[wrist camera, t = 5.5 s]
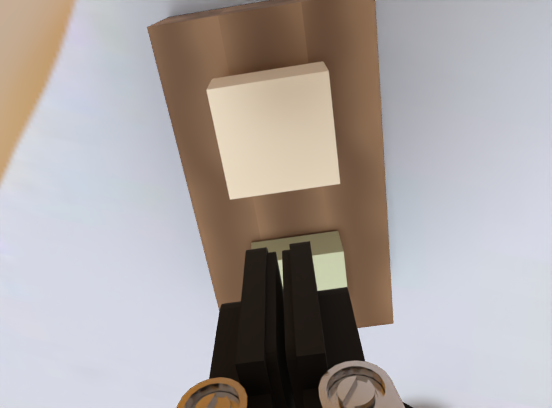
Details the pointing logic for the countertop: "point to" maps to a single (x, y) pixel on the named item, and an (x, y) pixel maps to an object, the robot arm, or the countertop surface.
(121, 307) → the countertop surface
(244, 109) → the cream block
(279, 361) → the robot arm
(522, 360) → the countertop surface
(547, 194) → the countertop surface
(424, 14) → the countertop surface
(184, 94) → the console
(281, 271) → the pale green block
